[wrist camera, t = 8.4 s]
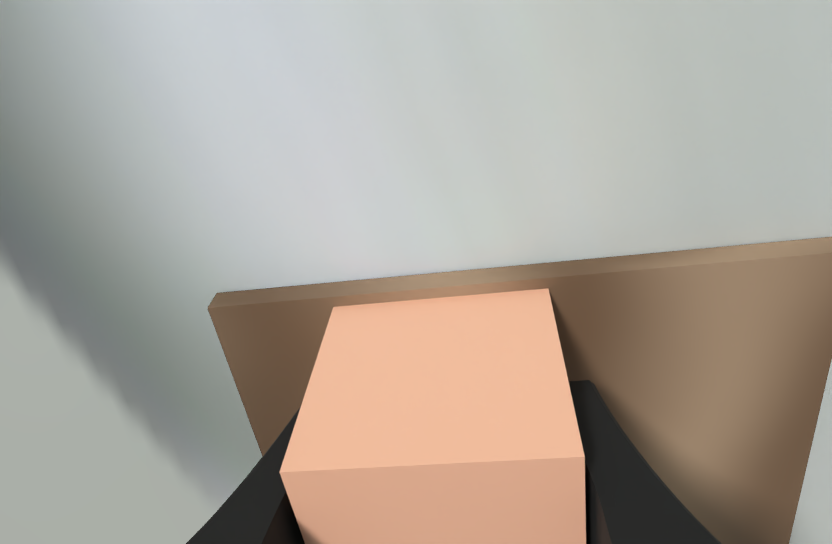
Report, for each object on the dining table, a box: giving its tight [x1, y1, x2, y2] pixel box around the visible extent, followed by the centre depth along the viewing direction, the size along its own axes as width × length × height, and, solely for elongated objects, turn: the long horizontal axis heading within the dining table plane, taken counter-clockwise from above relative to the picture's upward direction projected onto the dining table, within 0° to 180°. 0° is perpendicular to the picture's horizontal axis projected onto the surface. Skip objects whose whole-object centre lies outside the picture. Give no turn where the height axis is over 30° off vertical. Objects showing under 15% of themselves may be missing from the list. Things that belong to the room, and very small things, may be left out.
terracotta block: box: [279, 288, 586, 544], centre depth 12 cm, size 4×4×4 cm
